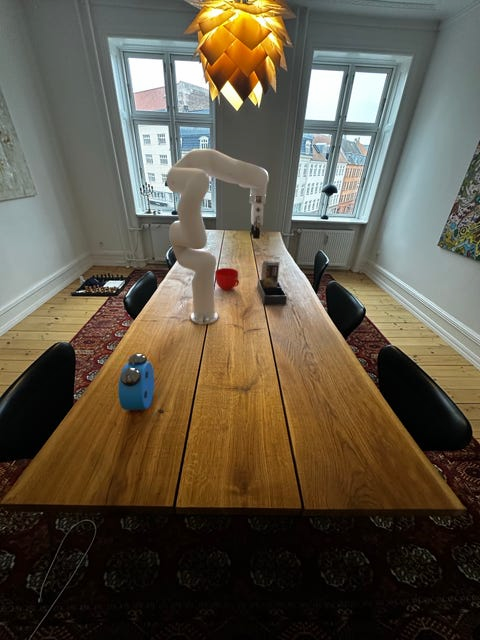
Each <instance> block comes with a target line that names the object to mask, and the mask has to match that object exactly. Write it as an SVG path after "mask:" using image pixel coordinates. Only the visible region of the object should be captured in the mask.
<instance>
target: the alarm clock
mask: <svg viewBox="0 0 480 640" xmlns="http://www.w3.org/2000/svg"><path fill="white" fill-rule="evenodd" d="M119 375H120V376H119V381H118V401H119V405H120V406H121V408H122V409H123V410H124V411H130V413H131V412H133V411H139V410H142V411H143V410H148V409H149V407H150V406H151V404H152V401H153V397H154V390H155V372H154V367H153V364H152V363H151V362H150V361H148V357H147V356H146V355H145V354H143V353H139V352H137V353H134V354H131V355H130V356H129V358H128V361H127V363H125V364H124V366H123V367H122V370H121V372H120V374H119Z"/></svg>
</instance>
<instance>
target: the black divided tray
mask: <svg viewBox="0 0 480 640" xmlns="http://www.w3.org/2000/svg"><path fill="white" fill-rule="evenodd" d="M256 288H257V290H258V293H259V296H260V299H261V302H262V304H263V306H285V305H287V300H288V295H287V294H286V292H285V290H284V289H283V286H282V285H281V283H280V281H279V280H278V284H277V287H262V286H261V278H260V279H259V278H257V285H256Z"/></svg>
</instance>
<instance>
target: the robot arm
mask: <svg viewBox="0 0 480 640" xmlns="http://www.w3.org/2000/svg"><path fill="white" fill-rule="evenodd" d="M210 178H213V179H216V180H220V181H223V182H225V183H228V184H234V185H238V186H239V187H241V188H244V189H250V191H249V204H251V209H250V211H251V212H250V222H251V226H250V234H251V235H252V239H254V240H255V239H256V240H259V239H260V237H261V226H263V225H264V205H266V197H267V185H268V183H269V180H270V179H269V174H268V171H267V170H266V169H265V168H263V167H261V166H259V165H255V164H253V163H250V162H246V161H243V160H240V159H236V158H233V157H231V156H228V155H226V154H224V153H223V152H220V151H218V150H216V149H212V148H194V149H192V150H190V151H188V152H187V153H186V154H184V155H183V156H182V157H181V158H180V159H179V160H177V162H176V163H174V164H173V165H172V167H170V168H169V170H168V172H167V174H166V178H165V180H166V185H167V187H168V189H169V190H170V192H172V193H174V194H177V195H181V196H180V197H179V200H178V203H177V206H176V207H177V208H176V213H177V219H178V220H175V221H174V222H172V223H171V224H170V226H169V228H168V229H169V230H168V238H169V242H170V246H171V248H172V251H173V253H174V257H175V260H176V262H177V264H178V265H179V266H180V267H181V268H183V269H187V270H190V271H192V272H194V276H193V277H192V280H191V291H192V307H193V312H192V313H191V314H190V320H191V321H192V322H193V323H195V324H198V325H200V326H201V325H209V324H213V323H215V322H216V321H218V319H219V314H218V313H217V311H216V310H215V271H216V266H217V258H216V256H215V254H213V252H211V251H210V250H207V249H204V248H205V247H206V246H207V243H208V236H207V231H206V227H205V223H204V220H203V214H202V206H203V202H204V199H205V197H206V195H207V193H208V191H209V188H210V182H211V181H210Z"/></svg>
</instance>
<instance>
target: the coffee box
mask: <svg viewBox="0 0 480 640" xmlns="http://www.w3.org/2000/svg"><path fill="white" fill-rule="evenodd" d="M280 263H281V262H280V261H271V260H263V261H262V263H261V274H260V275H261V276H260V277H261V278H260V279H261V286H262V287H277V284H278V281H279V275H280V274H279V273H280Z"/></svg>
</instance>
